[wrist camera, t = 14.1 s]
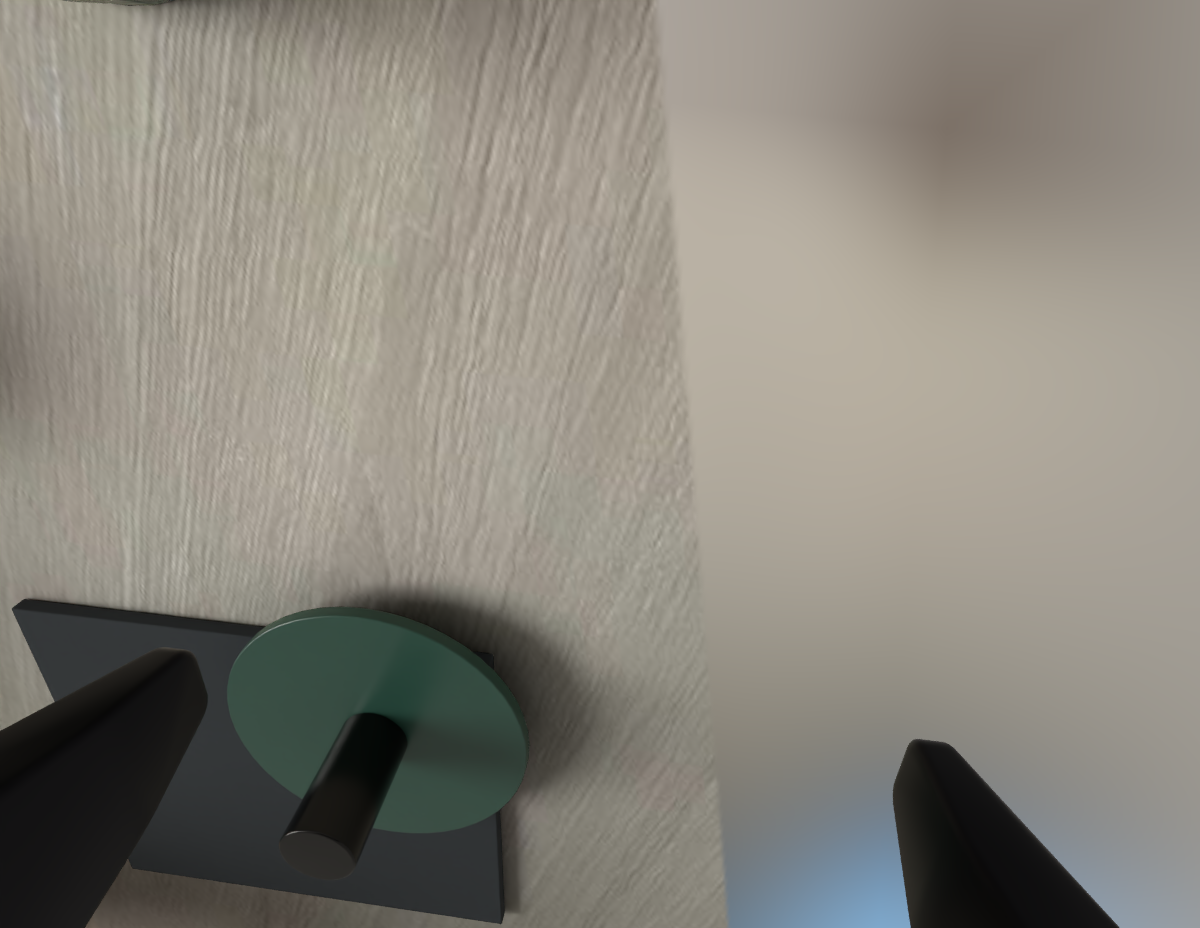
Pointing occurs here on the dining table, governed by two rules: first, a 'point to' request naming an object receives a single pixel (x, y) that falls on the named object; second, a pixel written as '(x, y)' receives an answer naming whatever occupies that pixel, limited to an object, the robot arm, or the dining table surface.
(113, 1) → the tin
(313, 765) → the tin lid
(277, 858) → the mat
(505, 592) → the dining table surface
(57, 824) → the robot arm
